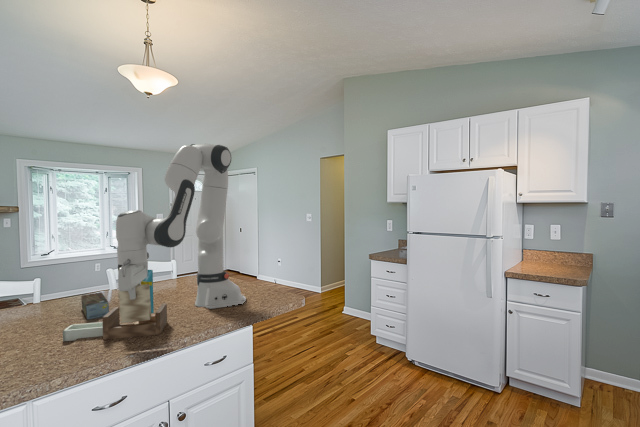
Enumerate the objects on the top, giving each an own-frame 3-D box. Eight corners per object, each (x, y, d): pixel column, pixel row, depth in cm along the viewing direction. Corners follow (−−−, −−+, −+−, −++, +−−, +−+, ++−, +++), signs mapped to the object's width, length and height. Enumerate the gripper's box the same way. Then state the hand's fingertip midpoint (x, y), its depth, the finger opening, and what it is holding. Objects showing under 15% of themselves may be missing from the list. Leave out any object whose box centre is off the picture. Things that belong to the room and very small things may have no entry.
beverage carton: (85, 320, 130) (85, 304, 129) (81, 309, 144) (80, 294, 144) (109, 316, 135) (109, 300, 135) (102, 305, 149) (102, 291, 149)
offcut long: (158, 324, 122) (158, 318, 122) (156, 328, 119) (155, 322, 119) (137, 326, 121) (137, 320, 121) (134, 330, 117) (134, 324, 117)
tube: (135, 317, 132) (133, 269, 132) (144, 313, 137) (143, 267, 136) (149, 319, 130) (148, 270, 129) (159, 315, 135) (158, 268, 134)
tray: (111, 330, 118) (111, 321, 118) (105, 337, 112) (104, 327, 112) (71, 334, 115) (71, 324, 115) (63, 341, 109) (62, 330, 109)
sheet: (151, 317, 117) (149, 284, 116) (149, 320, 114) (147, 285, 114) (123, 320, 115) (121, 286, 114) (120, 323, 112) (118, 288, 112)
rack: (167, 324, 124) (166, 303, 124) (160, 335, 113) (160, 312, 113) (115, 328, 120) (114, 307, 120) (103, 341, 109) (102, 317, 109)
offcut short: (157, 318, 122) (157, 312, 122) (155, 322, 119) (155, 315, 119) (140, 320, 121) (140, 314, 121) (138, 323, 117) (138, 317, 117)
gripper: (133, 262, 104) (136, 305, 105) (150, 252, 124) (152, 289, 125) (111, 263, 103) (113, 307, 103) (131, 253, 123) (133, 290, 123)
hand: (135, 297), depth 114 cm, fingers closed on sheet, 2 cm apart
